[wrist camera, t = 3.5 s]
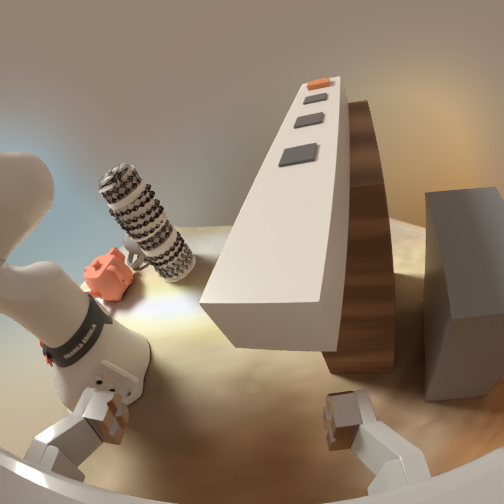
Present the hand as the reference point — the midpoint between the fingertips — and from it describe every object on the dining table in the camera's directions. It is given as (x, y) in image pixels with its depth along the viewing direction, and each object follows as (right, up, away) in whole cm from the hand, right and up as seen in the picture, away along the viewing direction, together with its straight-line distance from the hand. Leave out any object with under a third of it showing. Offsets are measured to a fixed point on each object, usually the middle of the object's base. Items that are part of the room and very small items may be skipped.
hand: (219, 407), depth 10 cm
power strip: (+6, +12, +9) cm, 16 cm away
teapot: (-31, -4, +56) cm, 64 cm away
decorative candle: (-14, +2, +53) cm, 55 cm away
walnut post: (+17, -3, +28) cm, 33 cm away
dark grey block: (+26, -6, +19) cm, 33 cm away
